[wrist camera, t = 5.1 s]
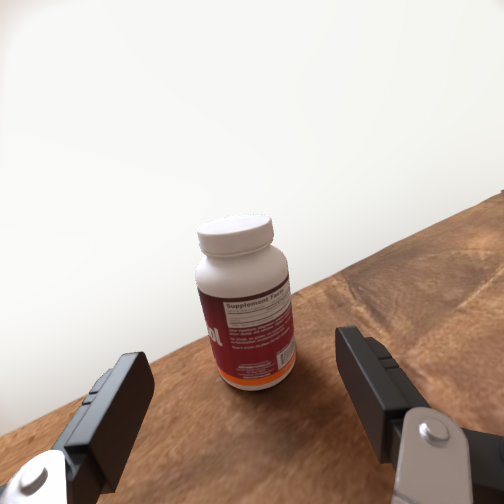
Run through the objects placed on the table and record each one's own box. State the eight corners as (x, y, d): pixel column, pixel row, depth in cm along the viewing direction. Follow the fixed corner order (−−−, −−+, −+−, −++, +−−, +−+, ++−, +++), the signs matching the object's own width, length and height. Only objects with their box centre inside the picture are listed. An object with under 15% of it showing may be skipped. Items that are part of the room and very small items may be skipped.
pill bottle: (217, 340, 22) (190, 219, 18) (285, 327, 22) (272, 206, 19) (216, 404, 16) (176, 245, 12) (308, 384, 16) (296, 225, 13)
